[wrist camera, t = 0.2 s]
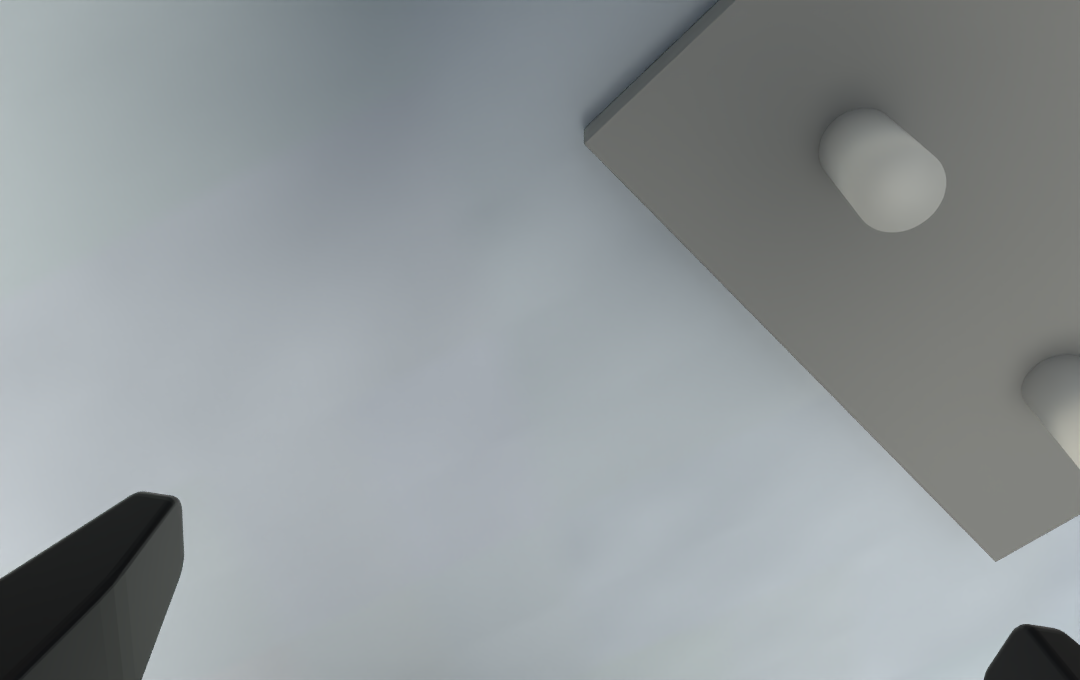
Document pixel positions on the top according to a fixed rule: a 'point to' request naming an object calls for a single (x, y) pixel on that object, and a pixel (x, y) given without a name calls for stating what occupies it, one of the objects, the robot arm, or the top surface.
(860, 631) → the top surface
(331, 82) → the top surface
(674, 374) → the top surface
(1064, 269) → the peg board
